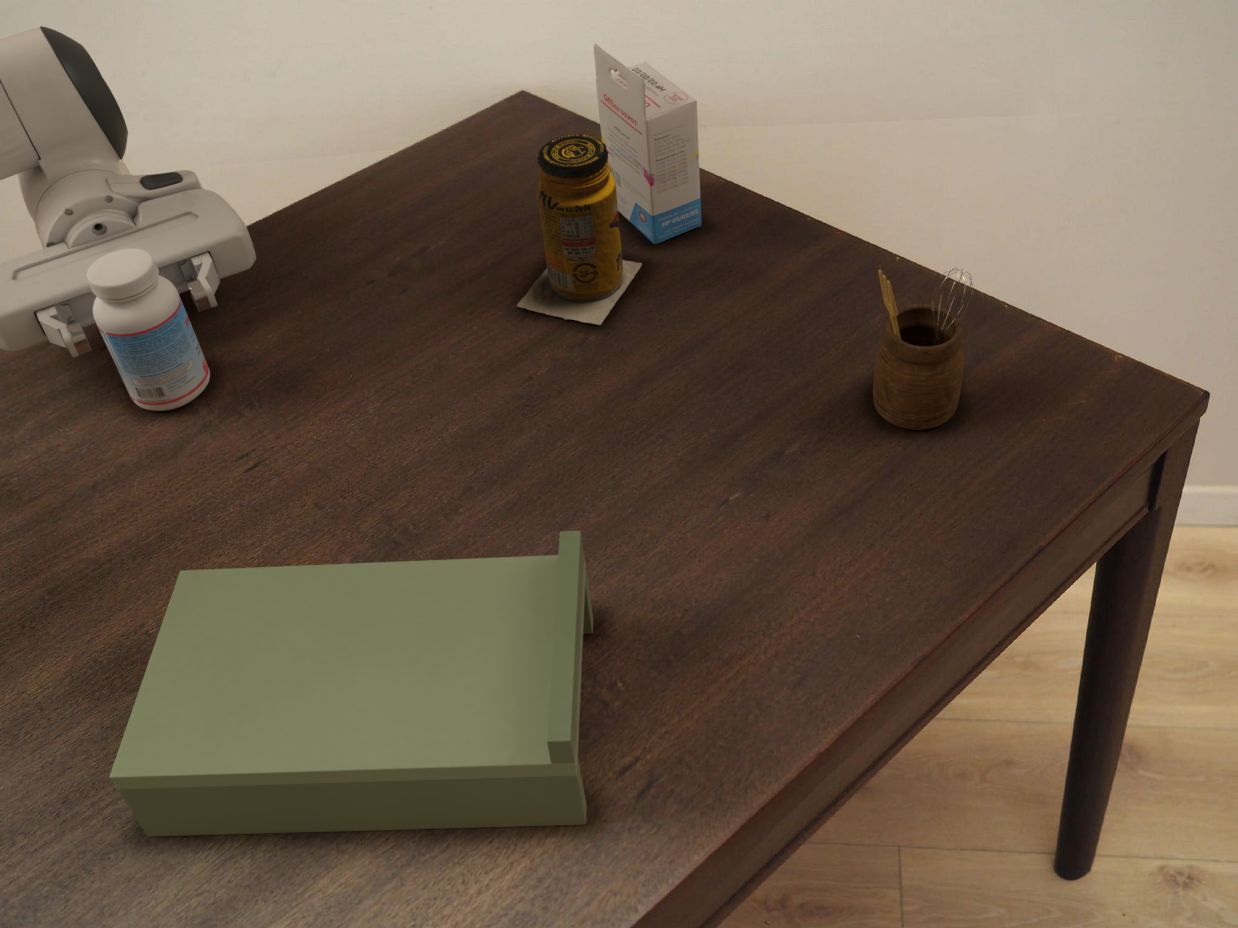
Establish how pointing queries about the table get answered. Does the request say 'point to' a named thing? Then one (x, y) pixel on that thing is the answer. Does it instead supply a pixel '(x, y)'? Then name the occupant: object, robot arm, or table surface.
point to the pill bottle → (147, 331)
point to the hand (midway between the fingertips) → (143, 324)
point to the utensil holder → (918, 362)
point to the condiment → (578, 233)
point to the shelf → (363, 698)
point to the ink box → (650, 147)
